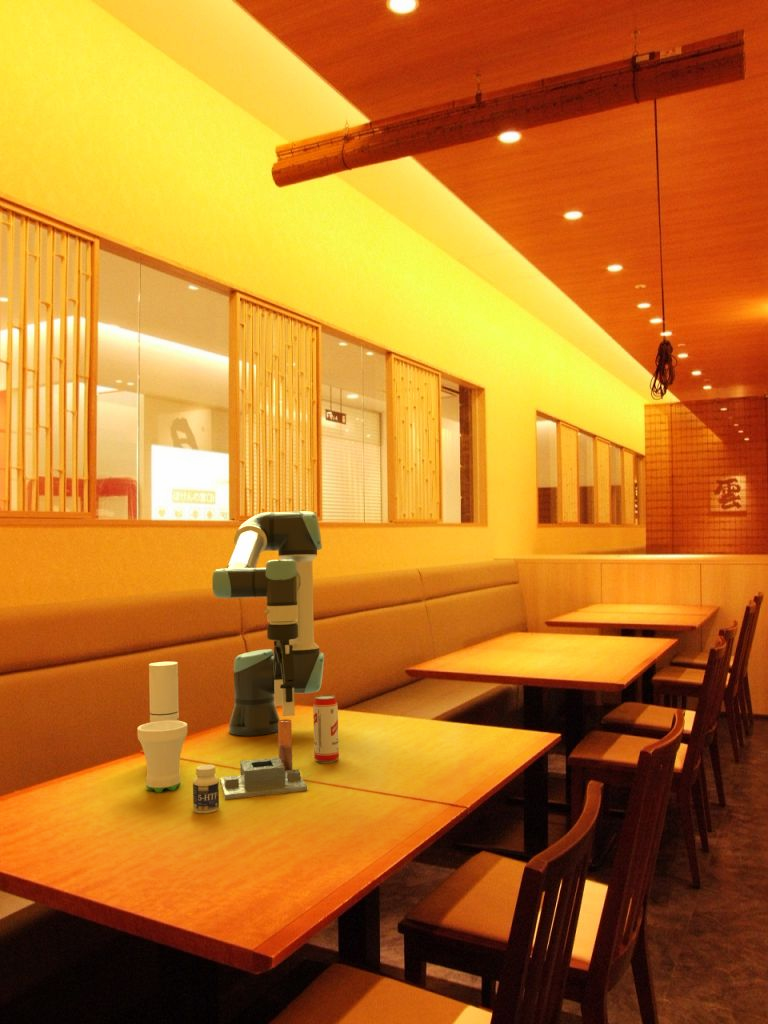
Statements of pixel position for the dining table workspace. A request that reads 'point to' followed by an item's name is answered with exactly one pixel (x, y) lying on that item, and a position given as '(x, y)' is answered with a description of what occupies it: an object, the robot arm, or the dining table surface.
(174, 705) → the cylindrical container
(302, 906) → the dining table surface
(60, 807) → the dining table surface
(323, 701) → the beer can
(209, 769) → the pill bottle
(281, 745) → the rounded pin
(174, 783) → the cup
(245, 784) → the grey socket base
